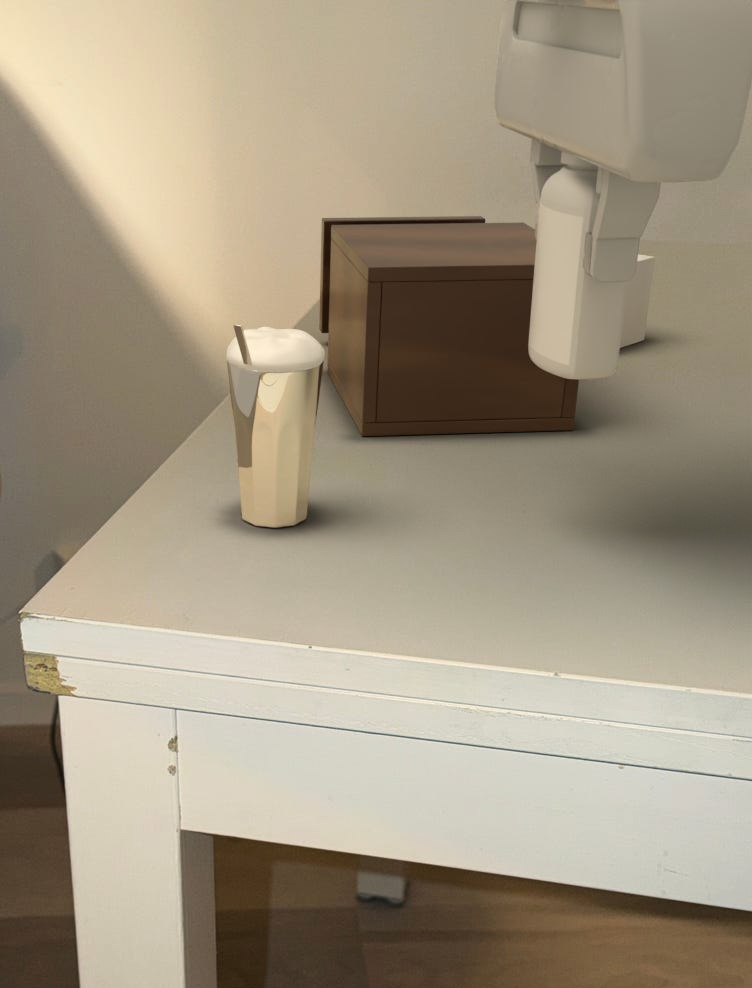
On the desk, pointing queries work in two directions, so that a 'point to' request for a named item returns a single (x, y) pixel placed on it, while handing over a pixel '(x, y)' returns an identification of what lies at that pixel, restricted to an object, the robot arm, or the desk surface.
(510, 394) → the cabinet
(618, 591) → the desk surface
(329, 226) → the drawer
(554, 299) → the eye dropper bottle
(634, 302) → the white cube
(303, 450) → the milkshake
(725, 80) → the robot arm
